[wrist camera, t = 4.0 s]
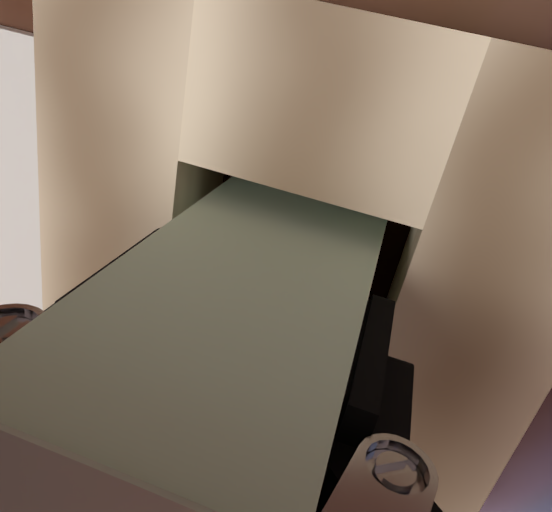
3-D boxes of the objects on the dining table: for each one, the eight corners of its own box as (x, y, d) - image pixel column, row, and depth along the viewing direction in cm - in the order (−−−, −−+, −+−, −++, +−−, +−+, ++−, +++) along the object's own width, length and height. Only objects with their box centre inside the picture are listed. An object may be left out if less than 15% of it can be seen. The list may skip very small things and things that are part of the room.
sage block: (391, 204, 15) (282, 645, 4) (352, 326, 17) (213, 832, 6) (248, 164, 15) (-151, 452, 5) (228, 286, 17) (-85, 674, 7)
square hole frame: (649, 73, 12) (726, 87, 9) (445, 474, 18) (447, 564, 15) (118, -41, 14) (30, -61, 11) (104, 349, 20) (45, 406, 17)
